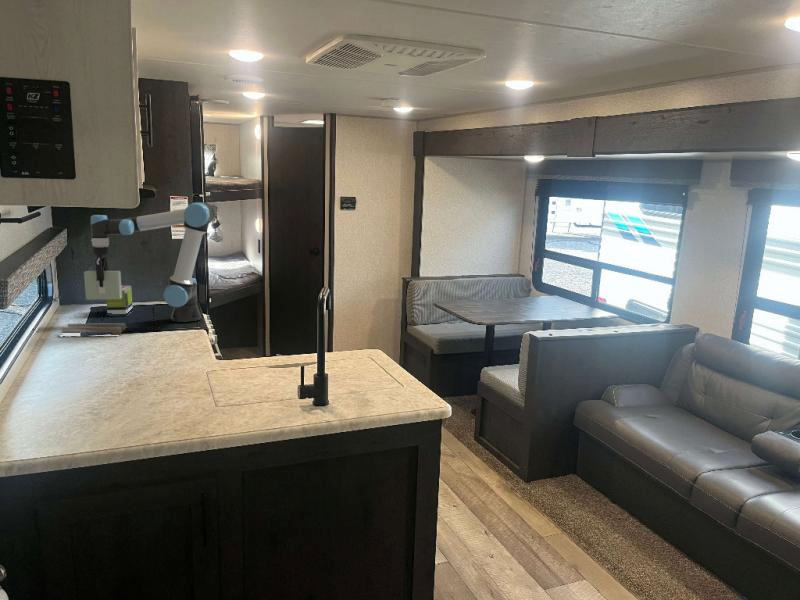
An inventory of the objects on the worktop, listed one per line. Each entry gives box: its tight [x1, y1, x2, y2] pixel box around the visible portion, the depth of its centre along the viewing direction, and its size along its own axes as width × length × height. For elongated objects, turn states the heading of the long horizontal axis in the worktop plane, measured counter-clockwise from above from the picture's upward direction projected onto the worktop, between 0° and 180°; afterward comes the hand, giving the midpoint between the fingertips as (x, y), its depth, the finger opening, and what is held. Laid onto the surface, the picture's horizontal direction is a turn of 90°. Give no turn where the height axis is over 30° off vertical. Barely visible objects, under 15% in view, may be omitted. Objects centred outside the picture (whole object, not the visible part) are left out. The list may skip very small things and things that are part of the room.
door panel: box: [83, 270, 122, 301], centre depth 308 cm, size 4×16×14 cm, turn 100°
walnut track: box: [61, 322, 127, 335], centre depth 294 cm, size 18×26×4 cm
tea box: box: [105, 285, 134, 314], centre depth 337 cm, size 15×10×15 cm, turn 10°
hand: (103, 292), depth 308 cm, fingers closed on door panel, 4 cm apart
